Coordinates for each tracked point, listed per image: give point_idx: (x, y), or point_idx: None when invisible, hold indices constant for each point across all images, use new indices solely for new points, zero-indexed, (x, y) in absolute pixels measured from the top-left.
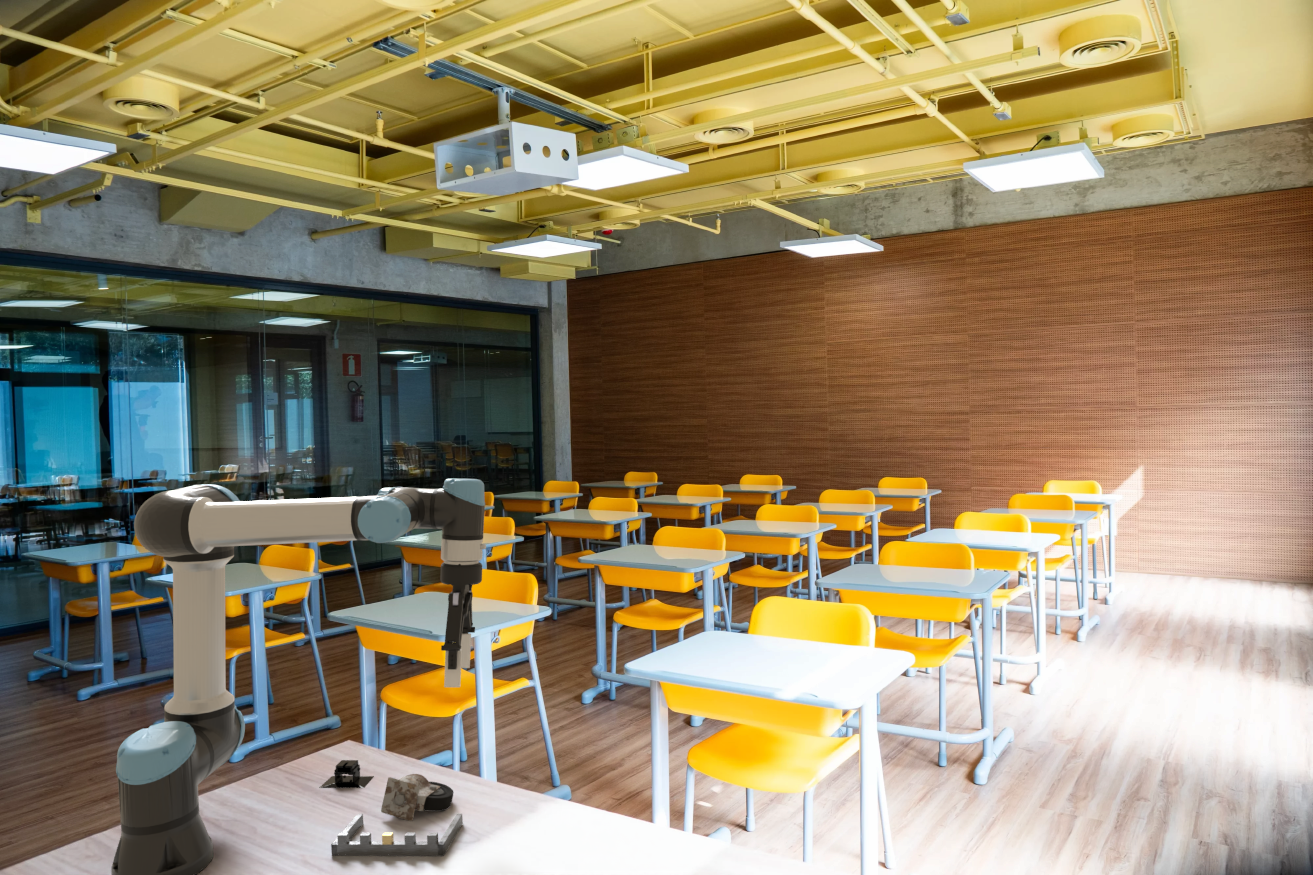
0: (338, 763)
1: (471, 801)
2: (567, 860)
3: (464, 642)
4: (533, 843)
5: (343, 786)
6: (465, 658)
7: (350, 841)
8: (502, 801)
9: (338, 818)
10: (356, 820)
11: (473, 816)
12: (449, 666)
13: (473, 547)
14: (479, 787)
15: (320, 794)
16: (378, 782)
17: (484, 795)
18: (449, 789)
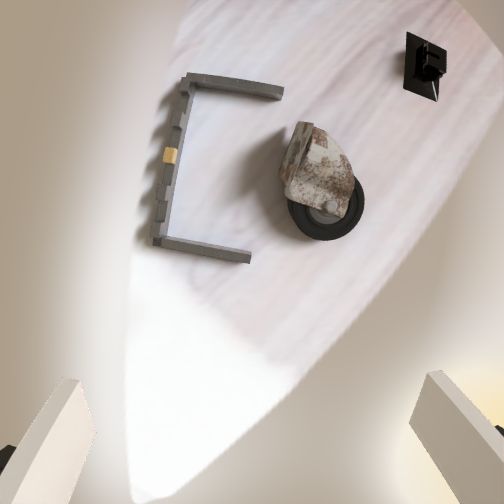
0: (435, 45)
1: (325, 266)
2: (135, 392)
3: (472, 485)
4: (176, 360)
5: (408, 60)
6: (433, 436)
7: (189, 97)
8: (313, 314)
9: (306, 62)
10: (260, 89)
11: (272, 274)
12: (1, 458)
13: None
14: (371, 273)
15: (386, 33)
16: (417, 108)
17: (341, 284)
18: (338, 232)
